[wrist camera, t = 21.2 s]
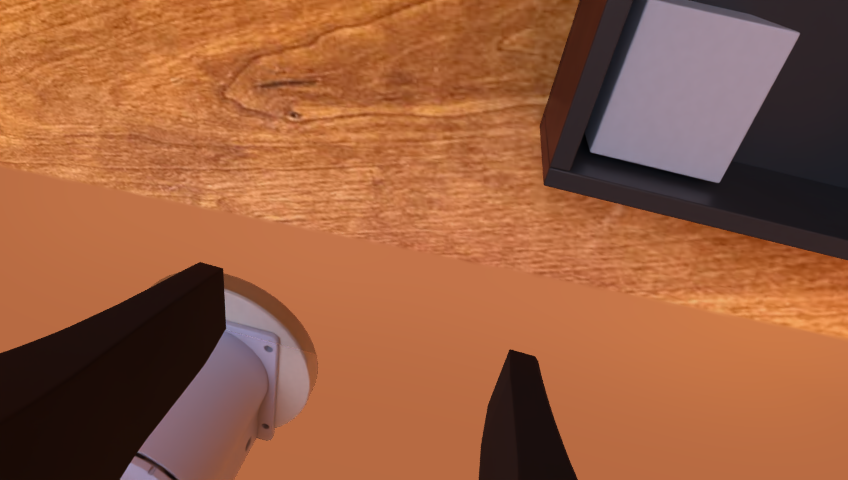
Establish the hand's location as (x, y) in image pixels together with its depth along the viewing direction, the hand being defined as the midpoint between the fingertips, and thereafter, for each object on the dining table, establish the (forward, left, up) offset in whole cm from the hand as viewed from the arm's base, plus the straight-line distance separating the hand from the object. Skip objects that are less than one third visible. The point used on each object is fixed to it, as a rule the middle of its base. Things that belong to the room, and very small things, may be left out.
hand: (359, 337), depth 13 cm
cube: (+6, -7, -10) cm, 14 cm away
